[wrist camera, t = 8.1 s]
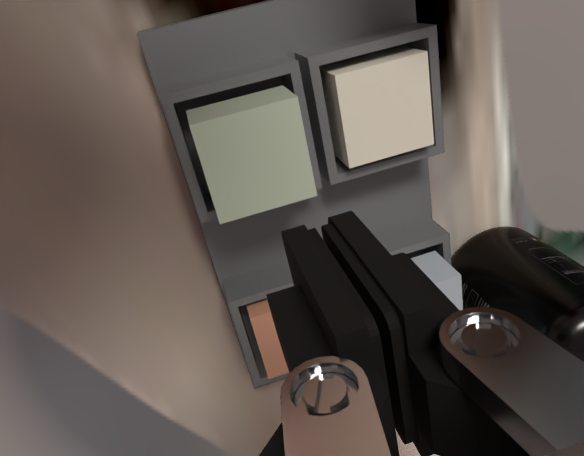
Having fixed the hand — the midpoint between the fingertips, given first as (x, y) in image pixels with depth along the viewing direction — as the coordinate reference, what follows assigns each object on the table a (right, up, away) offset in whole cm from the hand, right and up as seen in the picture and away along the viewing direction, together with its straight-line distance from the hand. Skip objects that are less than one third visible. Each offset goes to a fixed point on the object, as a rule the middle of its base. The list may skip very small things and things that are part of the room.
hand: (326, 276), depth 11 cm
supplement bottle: (+12, -1, +20) cm, 23 cm away
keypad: (0, +3, +15) cm, 15 cm away
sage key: (-3, +5, +9) cm, 11 cm away
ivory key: (+3, +7, +11) cm, 14 cm away
